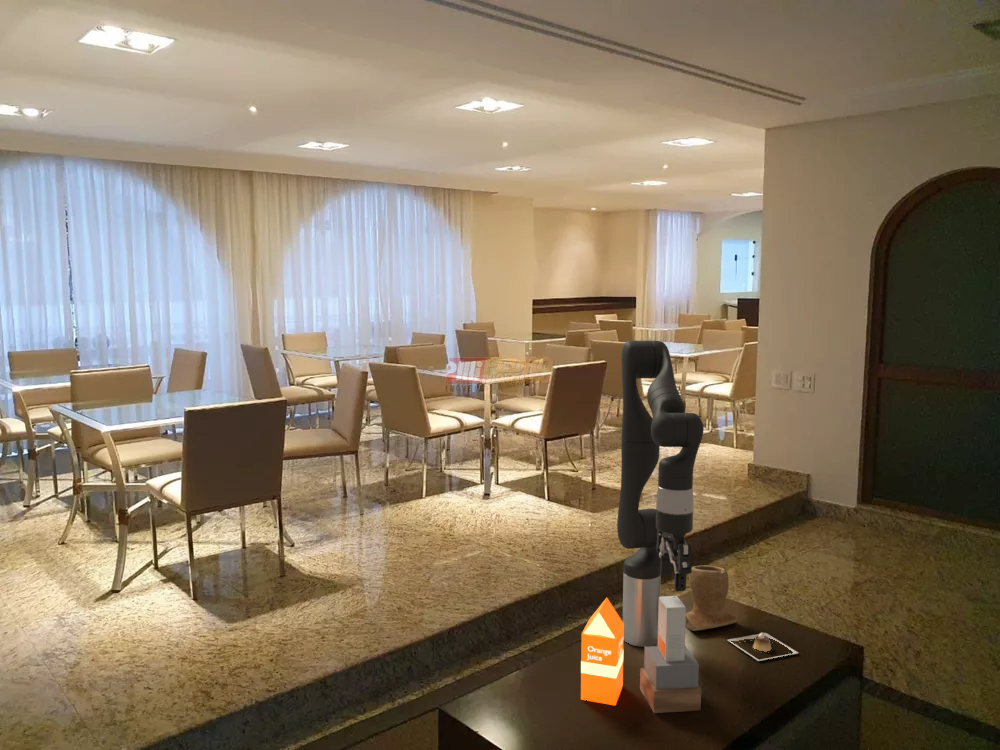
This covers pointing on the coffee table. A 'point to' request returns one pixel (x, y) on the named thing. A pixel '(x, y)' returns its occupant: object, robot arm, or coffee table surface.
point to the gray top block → (670, 670)
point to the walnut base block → (669, 696)
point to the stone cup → (708, 598)
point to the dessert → (761, 644)
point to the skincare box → (671, 628)
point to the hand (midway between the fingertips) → (672, 582)
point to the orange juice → (602, 656)
